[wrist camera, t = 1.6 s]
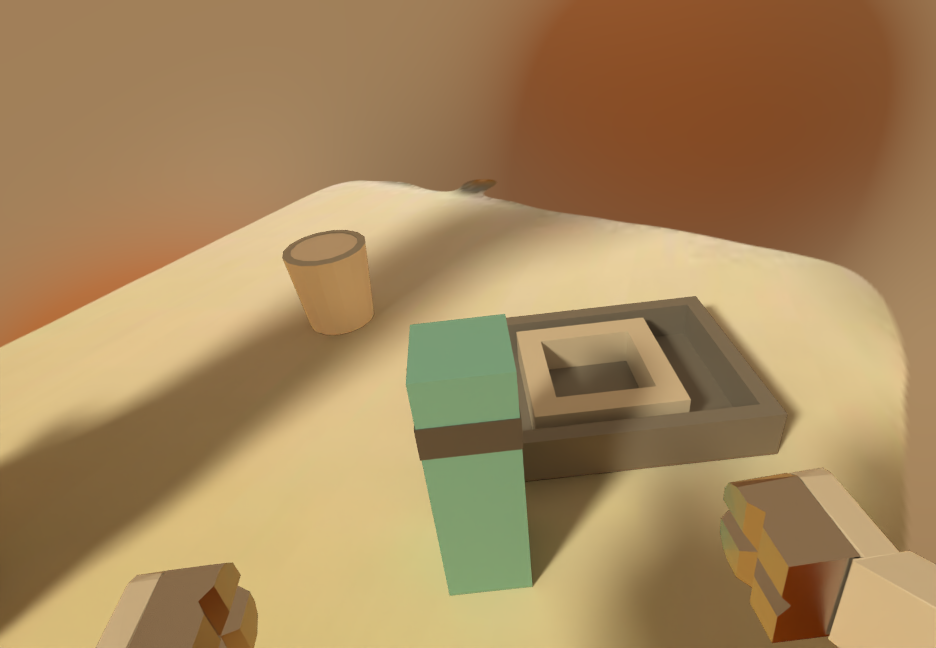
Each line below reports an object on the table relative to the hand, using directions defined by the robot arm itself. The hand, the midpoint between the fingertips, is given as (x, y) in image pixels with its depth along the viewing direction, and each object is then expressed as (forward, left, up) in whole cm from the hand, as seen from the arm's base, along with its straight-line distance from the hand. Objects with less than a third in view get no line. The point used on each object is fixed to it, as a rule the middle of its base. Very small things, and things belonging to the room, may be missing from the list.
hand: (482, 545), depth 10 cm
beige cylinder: (-11, +38, -18) cm, 43 cm away
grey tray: (+8, +23, -17) cm, 30 cm away
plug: (0, +12, -17) cm, 21 cm away
